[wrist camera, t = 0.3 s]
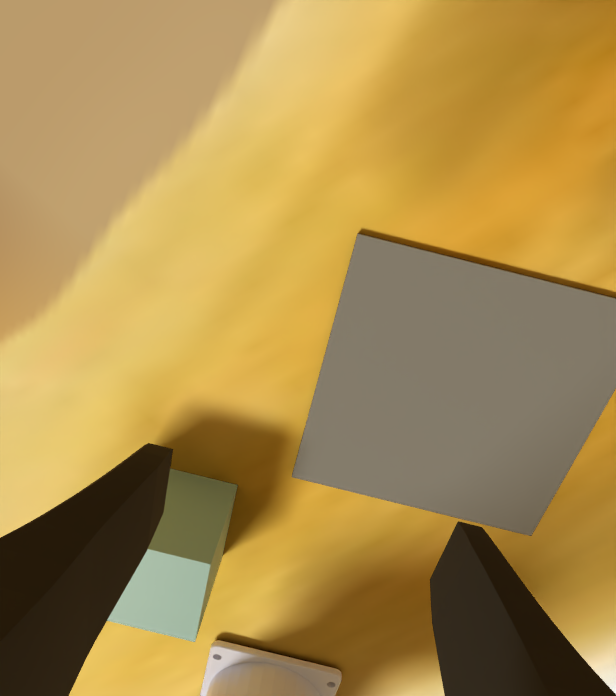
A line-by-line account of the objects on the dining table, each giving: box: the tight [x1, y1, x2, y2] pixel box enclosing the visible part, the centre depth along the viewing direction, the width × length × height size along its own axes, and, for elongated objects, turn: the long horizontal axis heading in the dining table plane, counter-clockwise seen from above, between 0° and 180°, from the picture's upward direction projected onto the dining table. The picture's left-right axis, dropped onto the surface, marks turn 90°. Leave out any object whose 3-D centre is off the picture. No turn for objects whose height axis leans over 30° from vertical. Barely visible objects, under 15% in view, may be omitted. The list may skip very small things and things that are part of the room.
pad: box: [292, 233, 616, 536], centre depth 21 cm, size 12×12×1 cm
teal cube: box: [107, 468, 238, 642], centre depth 23 cm, size 5×5×5 cm
